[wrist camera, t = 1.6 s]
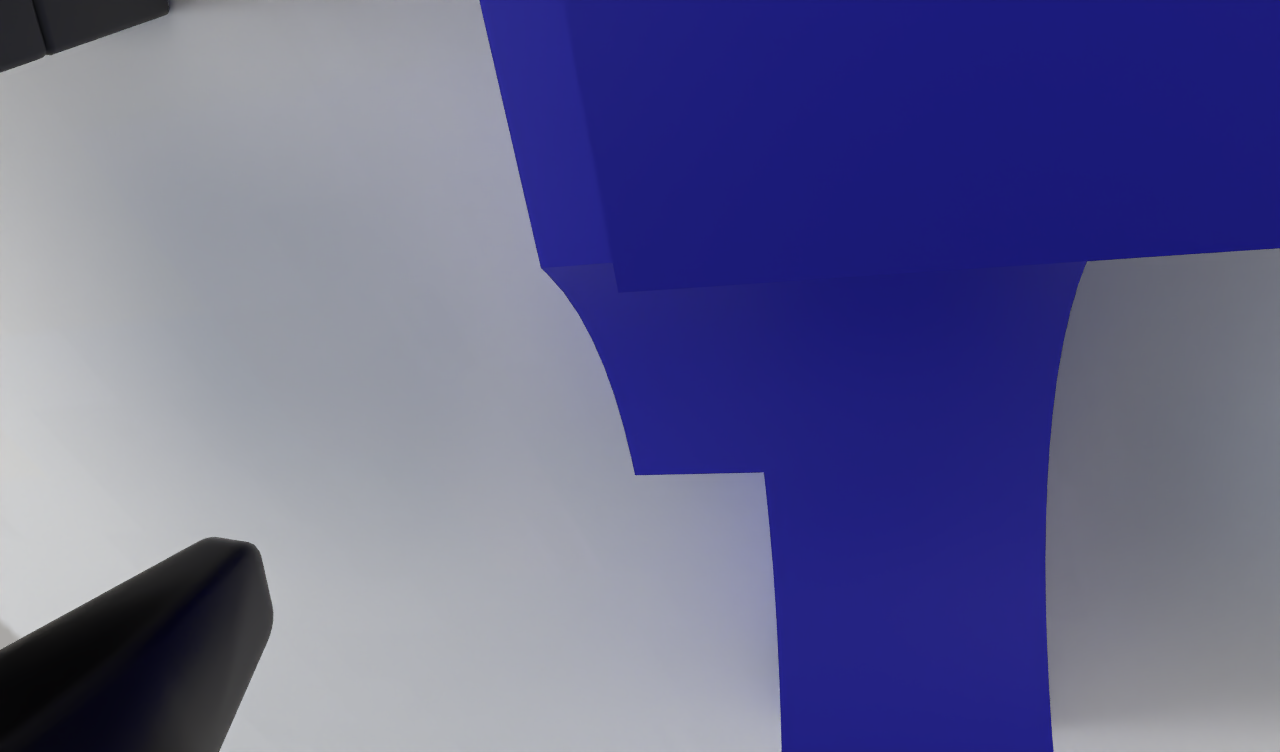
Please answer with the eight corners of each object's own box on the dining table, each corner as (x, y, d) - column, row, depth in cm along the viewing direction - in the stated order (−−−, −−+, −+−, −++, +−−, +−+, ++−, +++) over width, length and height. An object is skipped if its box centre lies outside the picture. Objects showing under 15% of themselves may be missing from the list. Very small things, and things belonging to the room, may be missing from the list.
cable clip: (564, -105, 10) (256, 26, 5) (1052, -187, 9) (1353, -135, 3) (713, 720, 16) (649, 1170, 10) (1010, 730, 14) (1098, 1237, 9)
